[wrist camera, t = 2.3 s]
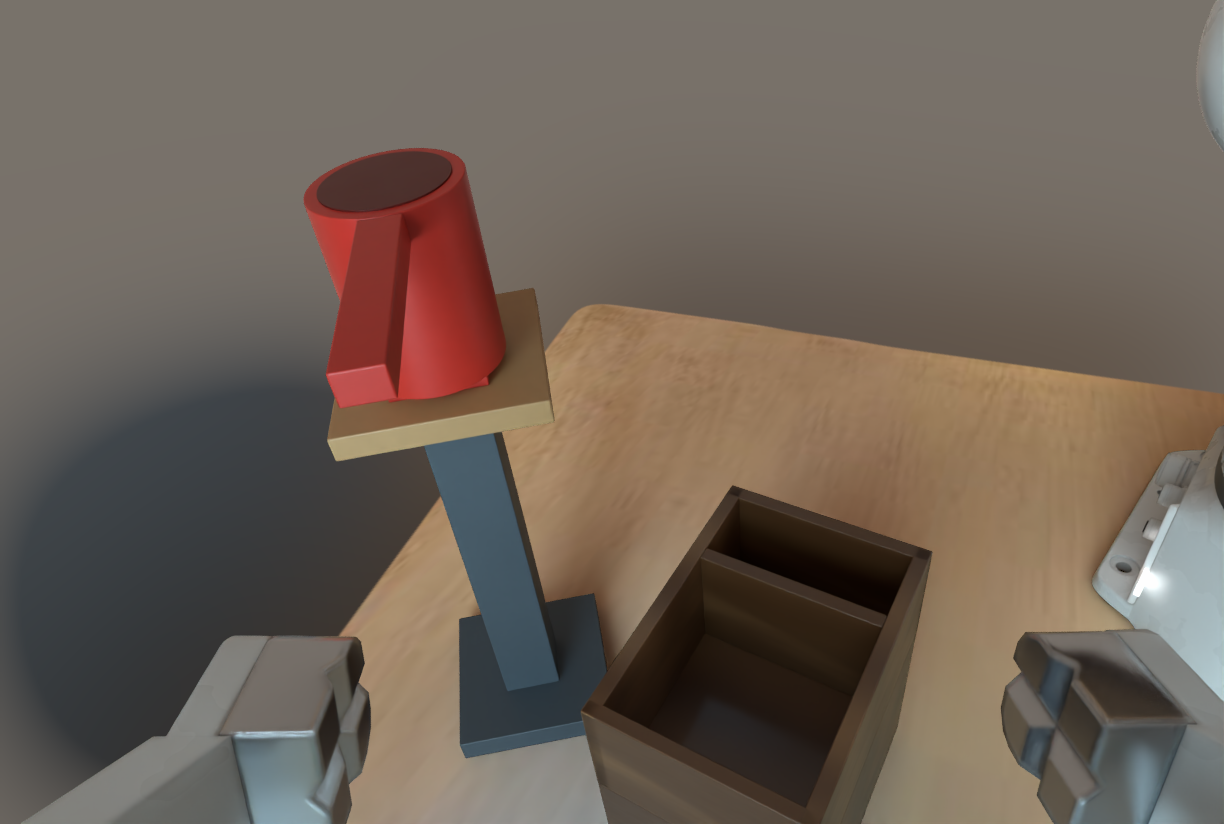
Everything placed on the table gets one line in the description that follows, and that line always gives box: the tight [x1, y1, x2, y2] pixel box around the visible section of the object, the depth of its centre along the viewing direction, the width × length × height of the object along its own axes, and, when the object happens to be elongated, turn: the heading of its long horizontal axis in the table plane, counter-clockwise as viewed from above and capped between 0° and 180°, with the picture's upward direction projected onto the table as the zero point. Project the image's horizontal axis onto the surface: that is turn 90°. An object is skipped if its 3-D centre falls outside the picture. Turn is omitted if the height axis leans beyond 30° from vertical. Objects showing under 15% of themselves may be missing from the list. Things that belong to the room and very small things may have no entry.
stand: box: [327, 288, 607, 758], centre depth 45 cm, size 9×9×25 cm
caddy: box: [581, 486, 932, 824], centre depth 41 cm, size 14×10×15 cm
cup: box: [304, 148, 506, 408], centre depth 30 cm, size 15×6×9 cm, turn 8°
